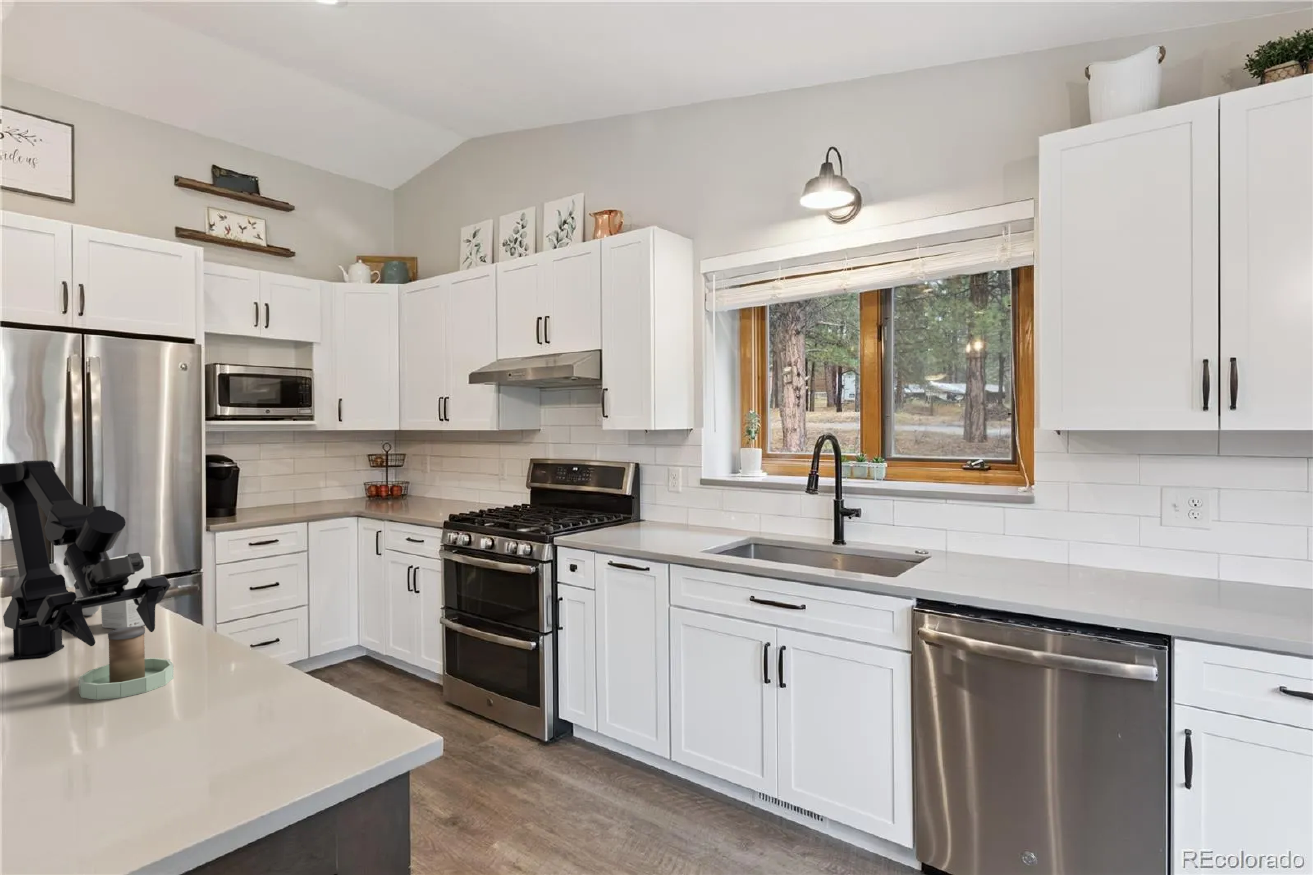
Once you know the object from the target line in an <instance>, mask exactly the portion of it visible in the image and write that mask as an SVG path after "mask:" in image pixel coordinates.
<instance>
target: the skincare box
mask: <svg viewBox="0 0 1313 875" xmlns="http://www.w3.org/2000/svg"><path fill="white" fill-rule="evenodd" d="M125 556H128V554H127V555H126V554H125V555H119V556H116V557H115V556H114V557H111V558H110V557H109V558H110V559H116V558H122V557H125ZM141 557H142V559H143V562H144V567H143V568H142V569H141V570H139V571H137V572H135V574H133V575H130V576H129V577H127V578H128V580H129V582H128V584H127V585H124V586H123V588H124V590H126V589H132V588H137V586H138V584H139V583H140V581H141V579H145V578H151V577H152V565H151V564H152V562H151V556H147V555H146V556H144V555H141ZM137 607H138V605H135V603H134V600H127V601H122V602H117V603H112V604H107V605H102V606H100V608H101V610H100V612H101V627H102V628H106V629H113V630H116V629H120V628H125V627H134V626H140V627H144V626H145V624H144V622H143V621H142V619H141V617H140V615H139V614H138V612H137V610H136V609H137Z"/></svg>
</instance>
